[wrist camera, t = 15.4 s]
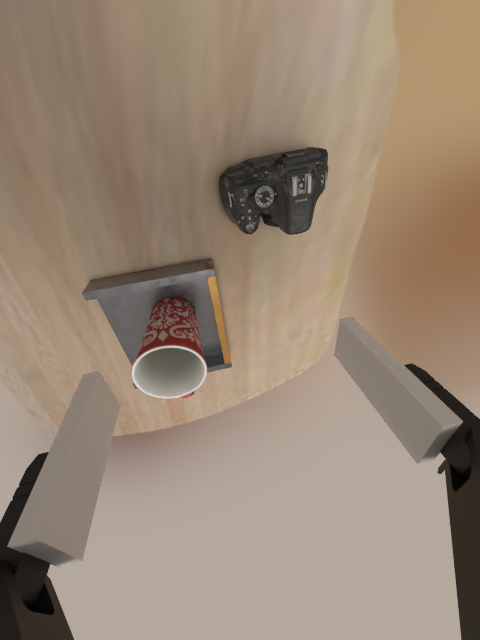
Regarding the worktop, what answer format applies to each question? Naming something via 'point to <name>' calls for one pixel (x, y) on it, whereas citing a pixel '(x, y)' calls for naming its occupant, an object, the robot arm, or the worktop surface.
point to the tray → (153, 286)
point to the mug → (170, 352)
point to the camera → (275, 190)
